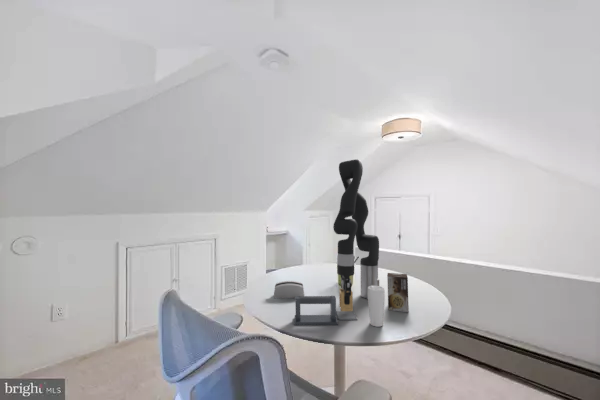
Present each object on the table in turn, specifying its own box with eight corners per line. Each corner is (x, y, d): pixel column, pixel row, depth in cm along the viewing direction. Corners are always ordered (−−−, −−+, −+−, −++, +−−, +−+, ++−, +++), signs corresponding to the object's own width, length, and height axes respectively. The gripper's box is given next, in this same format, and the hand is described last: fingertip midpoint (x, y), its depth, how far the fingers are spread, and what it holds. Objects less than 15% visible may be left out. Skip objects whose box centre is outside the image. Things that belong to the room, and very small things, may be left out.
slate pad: (353, 312, 118) (353, 311, 118) (357, 320, 110) (357, 318, 110) (336, 312, 118) (336, 311, 118) (338, 320, 110) (338, 318, 110)
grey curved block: (304, 294, 143) (304, 279, 140) (304, 300, 138) (304, 284, 135) (274, 294, 142) (273, 279, 139) (273, 300, 138) (273, 285, 135)
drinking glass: (365, 321, 109) (365, 285, 110) (381, 320, 110) (380, 285, 110) (371, 328, 102) (370, 290, 103) (387, 327, 103) (387, 290, 103)
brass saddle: (350, 306, 117) (350, 288, 117) (352, 311, 112) (352, 292, 112) (339, 306, 117) (339, 288, 117) (341, 311, 112) (341, 292, 112)
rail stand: (335, 317, 113) (335, 294, 113) (337, 325, 106) (337, 300, 106) (294, 317, 113) (294, 294, 113) (294, 325, 106) (294, 300, 106)
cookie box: (407, 307, 124) (407, 273, 124) (408, 312, 118) (408, 277, 118) (387, 305, 127) (387, 272, 127) (387, 310, 121) (387, 275, 121)
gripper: (357, 267, 108) (357, 308, 107) (350, 260, 122) (351, 296, 121) (339, 267, 108) (339, 308, 107) (335, 260, 122) (335, 296, 122)
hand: (345, 301), depth 114 cm, fingers closed on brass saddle, 5 cm apart
